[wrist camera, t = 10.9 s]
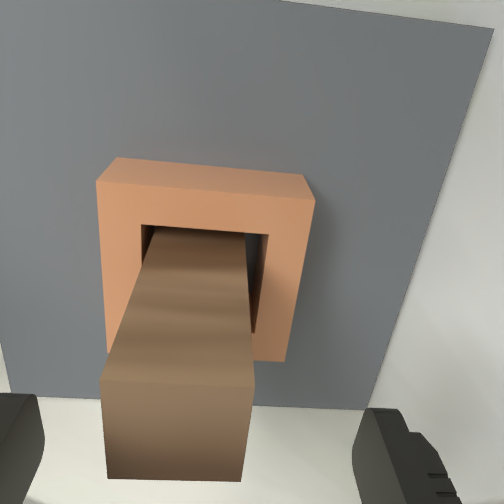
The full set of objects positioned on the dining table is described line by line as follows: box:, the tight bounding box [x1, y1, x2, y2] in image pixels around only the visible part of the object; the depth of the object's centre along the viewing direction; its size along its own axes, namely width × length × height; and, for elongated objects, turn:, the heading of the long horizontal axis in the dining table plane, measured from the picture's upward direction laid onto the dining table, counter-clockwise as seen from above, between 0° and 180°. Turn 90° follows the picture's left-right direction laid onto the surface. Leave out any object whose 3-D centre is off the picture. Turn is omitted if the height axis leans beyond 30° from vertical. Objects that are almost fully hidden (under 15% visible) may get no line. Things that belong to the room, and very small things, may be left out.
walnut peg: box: [99, 225, 255, 482], centre depth 15 cm, size 4×4×10 cm
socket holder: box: [0, 0, 494, 410], centre depth 18 cm, size 20×20×4 cm
